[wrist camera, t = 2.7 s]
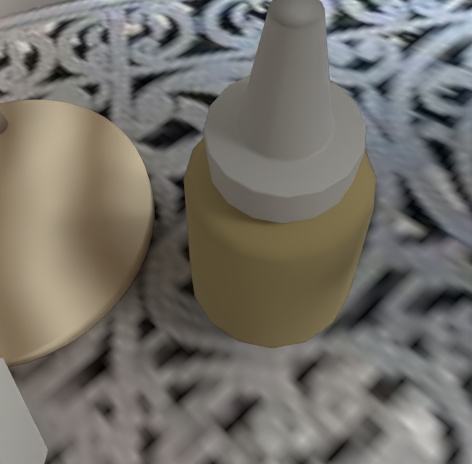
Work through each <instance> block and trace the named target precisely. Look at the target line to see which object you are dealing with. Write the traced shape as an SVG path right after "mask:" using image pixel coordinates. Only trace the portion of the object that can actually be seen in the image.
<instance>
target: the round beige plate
mask: <svg viewBox="0 0 472 464" xmlns="http://www.w3.org/2000/svg"><path fill="white" fill-rule="evenodd" d="M154 219H155V209H154V197H153V191H152V186H151V183H150V180H149V177H148V174H147V171H146V169H145V166H144V164H143V161H142V159H141V157H140V155H139V153H138V151H137V149H136V148H135V146H134V145H133V143H132V142H131V141H130V139H129V138H128V137H127V136H126V134H124V133H123V132H122V131H121V130H120V129H119V128H118V127H117V126H116V125H115V124H113V123H112V122H110V121H109V120H108V119H106V118H105V117H103V116H101V115H99V114H97V113H95V112H93V111H91V110H89V109H86V108H83V107H80V106H78V105H74V104H70V103H65V102H60V101H51V100H22V101H12V102H6V103H1V104H0V358H3V359H4V361H5V363H6V365H7V367H11V366H15V365H20V364H24V363H27V362H30V361H32V360H35V359H38V358H41V357H43V356H46V355H48V354H50V353H52V352H54V351H56V350H58V349H60V348H62V347H64V346H66V345H67V344H69V343H71V342H72V341H74V340H75V339H77V338H78V337H80V336H81V335H83V334H84V333H86V332H87V331H88V330H89V329H91V328H92V327H93V326H94V325H95V324H97V323H98V322H99V321H100V320H101V319H103V318H104V317H105V315H106V314H107V313H108V312H109V311H110V310H111V309H112V308H113V307H114V306H115V305H116V304H117V303H118V302H119V300H120V299H121V298H122V296H123V295H124V294H125V292H126V291H127V290H128V289H129V287H130V286H131V284H132V282H133V281H134V279H135V277H136V276H137V274H138V272H139V270H140V269H141V266H142V264H143V261H144V259H145V257H146V254H147V252H148V249H149V245H150V242H151V238H152V234H153V227H154Z"/></svg>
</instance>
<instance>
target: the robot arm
mask: <svg viewBox="0 0 472 464" xmlns="http://www.w3.org/2000/svg"><path fill="white" fill-rule="evenodd" d="M47 452H48V449H47V447H46V445H45V443H44V441H43V439H42V437H41V435H40V433H39V431H38V429H37V426H36V424H35V422H34V420H33V418H32V416H31V414H30V412H29V410H28V408H27V406H26V404H25V402H24V400H23V398H22V396H21V394H20V392H19V390H18V388H17V386H16V383H15V381H14V379H13V377H12V375H11V373H10V371H9V369H8V367H7V365H6V363H5V361H4V359H3V358H0V464H44V463H45V459H46V456H47Z"/></svg>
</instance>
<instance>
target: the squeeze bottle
mask: <svg viewBox="0 0 472 464" xmlns="http://www.w3.org/2000/svg"><path fill="white" fill-rule="evenodd" d="M366 129H367V127H366V125H365V122H364V120H363V117H362V115H361V112H360V110H359V107H358V105H357V103H356V102H355V101H354V100H353V99H352V98H351V97H350V96H349V95H348V94H346V93H345V92H344V91H343V90H342V89H341V88H340V87H339V86H338V85H337V84H335V83H333V82H331V81H330V78H329V64H328V50H327V36H326V23H325V9H324V7H323V4H322V2H321V1H319V0H273V1H272V2H271V3H270V6H269V9H268V13H267V17H266V20H265V24H264V28H263V31H262V35H261V39H260V42H259V46H258V50H257V53H256V57H255V61H254V64H253V68H252V72H251V75H249V76H247V77H245V78H243V79H241V80H239V81H237V82H235V83H233V84H231V85H229V86H228V87H227V88H226V89H225V90H224V91H223V92H222V93H221V94H220V95H219V97H218V98H217V99H216V100H215V101H214V102H213V103H212V104H211V105H210V109H209V112H208V115H207V118H206V121H205V125H204V128H203V132H204V137H203V138H202V140H201V141H200V142H199V143H198V144H197V145H196V146H195V147H194V149H193V151H192V154H191V157H190V160H189V164H188V167H187V170H186V173H185V176H184V188H185V202H186V215H187V228H188V241H189V254H190V267H191V274H192V281H193V288H194V294H195V297H196V299H197V300H198V302H199V304H200V305H201V307H202V308H203V310H204V312H205V313H206V315H207V316H208V318H209V319H210V321H211V323H213V324H214V325H216V326H217V327H219V328H220V329H222V330H223V331H224V332H226V333H227V334H229V335H230V336H232V337H233V338H235V339H236V340H238V341H240V342H245V343H249V344H254V345H259V346H264V347H269V348H276V347H281V346H286V345H291V344H296V343H302V342H306V341H307V340H309V339H310V338H312V337H313V336H314V335H316V334H317V333H319V332H320V331H322V330H323V329H325V328H326V327H328V326H329V325H330V324H332V323H333V321H334V319H335V318H336V316H337V314H338V313H339V311H340V309H341V308H342V306H343V304H344V303H345V301H346V299H347V298H348V295H349V292H350V289H351V285H352V282H353V278H354V275H355V271H356V268H357V265H358V261H359V258H360V254H361V251H362V248H363V244H364V241H365V237H366V234H367V231H368V227H369V224H370V220H371V217H372V213H373V210H374V199H375V187H376V175H375V173H374V170H373V168H372V165H371V163H370V160H369V158H368V155H367V152H366V150H365V139H366Z"/></svg>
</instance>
